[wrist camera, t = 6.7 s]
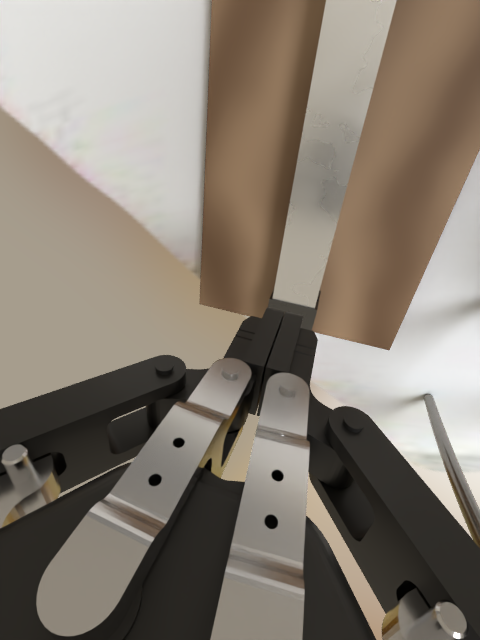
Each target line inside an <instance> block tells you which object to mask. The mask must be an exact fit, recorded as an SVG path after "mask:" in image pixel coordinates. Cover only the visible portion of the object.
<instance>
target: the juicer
mask: <svg viewBox="0 0 480 640" xmlns="http://www.w3.org/2000/svg"><path fill="white" fill-rule="evenodd" d="M424 401H425V405H426V409H427V412H428V416H429V419H430V423H431V426H432V430H433V433H434V436H435V439H436V442H437V446H438V449H439V452H440V455H441V458H442V461H443V463H444V466H445V469H446V472H447V475H448V477H449V480H450V483H451V486H452V488H453V491H454V494H455V496H456V499H457V502H458V504H459V507H460V509H461V512H462V514H463V517H464V519H465V522H466V524H467V526H468V529H469V531H470V533H471V536H472V538H473V541H474V542H475V543H476V544H477V545H478V547H479V548H480V509H479V507H478V505H477V503H476V501H475V498H474V496H473V494H472V492H471V490H470V488H469V485H468V483H467V481H466V479H465V476H464V474H463V472H462V469H461V467H460V465H459V463H458V460H457V458H456V455H455V453H454V451H453V448H452V446H451V443H450V441H449V438H448V436H447V433H446V431H445V428H444V426H443V423H442V420H441V418H440V415H439V412H438V409H437V407H436V404H435V401H434V398H433V396H432V395H430V394H427V395H425V396H424Z"/></svg>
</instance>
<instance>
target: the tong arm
mask: <svg viewBox="0 0 480 640" xmlns="http://www.w3.org/2000/svg"><path fill="white" fill-rule="evenodd" d="M396 1H397V0H326V3H325V9H324V15H323V20H322V26H321V31H320V37H319V42H318V48H317V54H316V59H315V65H314V70H313V76H312V81H311V87H310V93H309V98H308V104H307V109H306V115H305V120H304V126H303V131H302V137H301V143H300V148H299V154H298V159H297V165H296V170H295V176H294V182H293V187H292V193H291V198H290V204H289V209H288V215H287V221H286V226H285V232H284V237H283V243H282V248H281V254H280V260H279V265H278V271H277V276H276V282H275V287H274V291H273V292H272V294H271V296H270V299H269V304H268V307H269V308H273V309H277V310H281V311H285V313H286V312H290V313H294V314H298V315H302V316H303V320H302V325H301V328H303V329H307V330H311V331H312V328H313V324H314V320H315V317H316V313H317V309H318V304H319V302H318V301H317V298H318V294H319V290H320V286H321V283H322V279H323V275H324V271H325V268H326V264H327V260H328V256H329V253H330V249H331V245H332V241H333V238H334V234H335V230H336V226H337V223H338V219H339V215H340V211H341V208H342V204H343V200H344V196H345V192H346V189H347V185H348V181H349V177H350V174H351V170H352V166H353V162H354V159H355V155H356V151H357V147H358V144H359V140H360V136H361V132H362V129H363V125H364V121H365V117H366V114H367V110H368V106H369V102H370V99H371V95H372V91H373V87H374V83H375V80H376V76H377V72H378V68H379V65H380V61H381V57H382V53H383V50H384V46H385V42H386V38H387V35H388V31H389V27H390V23H391V20H392V16H393V12H394V8H395V5H396ZM285 313H284V315H285Z"/></svg>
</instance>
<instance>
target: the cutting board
mask: <svg viewBox="0 0 480 640" xmlns="http://www.w3.org/2000/svg"><path fill="white" fill-rule="evenodd" d="M325 3H326V0H212V10H211V35H210V60H209V84H208V109H207V134H206V159H205V183H204V208H203V233H202V258H201V282H200V304H202V305H206V306H210V307H214V308H218V309H222V310H226V311H230V312H234V313H238V314H243V315H247V316H254V317H258V318H262V317H263V315H264V312H265V310H266V308H267V307H268V304H269V299H270V296H271V294H272V292H273V290H274V287H275V282H276V276H277V271H278V265H279V260H280V254H281V248H282V243H283V237H284V232H285V226H286V221H287V215H288V209H289V204H290V198H291V193H292V187H293V182H294V176H295V170H296V165H297V159H298V154H299V148H300V143H301V137H302V131H303V126H304V120H305V115H306V109H307V104H308V98H309V93H310V87H311V81H312V76H313V70H314V65H315V59H316V54H317V48H318V42H319V37H320V31H321V26H322V20H323V15H324V9H325ZM479 149H480V0H397V1H396V5H395V8H394V12H393V16H392V20H391V23H390V27H389V31H388V35H387V38H386V42H385V46H384V50H383V53H382V57H381V61H380V65H379V68H378V72H377V76H376V80H375V83H374V87H373V91H372V95H371V99H370V102H369V106H368V110H367V114H366V117H365V121H364V125H363V129H362V132H361V136H360V140H359V144H358V147H357V151H356V155H355V159H354V162H353V166H352V170H351V174H350V177H349V181H348V185H347V189H346V192H345V196H344V200H343V204H342V208H341V211H340V215H339V219H338V223H337V226H336V230H335V234H334V238H333V241H332V245H331V249H330V253H329V256H328V260H327V264H326V268H325V271H324V275H323V279H322V283H321V286H320V291H321V293H320V298H319V304H318V309H317V313H316V317H315V320H314V324H313V328H312V331H314V332H316V333H320V334H325V335H329V336H333V337H337V338H341V339H345V340H349V341H353V342H357V343H361V344H366V345H370V346H374V347H378V348H382V349H386V350H390V348H391V345H392V343H393V341H394V339H395V337H396V334H397V332H398V330H399V328H400V325H401V323H402V321H403V319H404V316H405V314H406V312H407V310H408V308H409V305H410V303H411V301H412V299H413V296H414V294H415V292H416V290H417V287H418V285H419V283H420V281H421V279H422V276H423V274H424V272H425V270H426V267H427V265H428V263H429V261H430V259H431V256H432V254H433V252H434V250H435V247H436V245H437V243H438V241H439V238H440V236H441V234H442V232H443V230H444V227H445V225H446V223H447V221H448V218H449V216H450V214H451V212H452V210H453V207H454V205H455V203H456V201H457V198H458V196H459V194H460V192H461V189H462V187H463V185H464V183H465V181H466V178H467V176H468V174H469V172H470V169H471V167H472V165H473V163H474V161H475V158H476V156H477V154H478V152H479Z"/></svg>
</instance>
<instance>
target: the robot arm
mask: <svg viewBox="0 0 480 640" xmlns="http://www.w3.org/2000/svg"><path fill="white" fill-rule="evenodd" d="M284 313H285V311H281V310H277V309H273V308H269V307H267V308H266V310H265V312H264V315H263V317H262V318H258V317H254V316H251V317H249V318H247V319H246V320H244V321H243V323H242V325H241V326H240V328H239V331H238V332H237V334H236V336H235V337H234V339H233V341H232V343H231V345H230V347H229V349H228V350H227V352H226V354H225V356H224V358H223V359H219V360H217V361H216V362H214V363H213V364H212V366H211V367H210V368H209V369H202V370H194V369H186V366H185V363H184V362H183V361H182V360H181V359H179V358H177V357H175V356H171V355H161V356H157V357H154V358H151V359H148V360H145V361H142V362H139V363H136V364H133V365H130V366H127V367H124V368H121V369H118V370H115V371H112V372H109V373H106V374H103V375H100V376H97V377H94V378H92V379H88V380H85V381H82V382H80V383H76V384H74V385H71V386H68V387H65V388H62V389H59V390H56V391H53V392H50V393H47V394H44V395H41V396H38V397H35V398H32V399H29V400H26V401H23V402H20V403H17V404H14V405H12V406H8V407H6V408H2V409H0V640H376V638H375V636H374V634H373V632H372V630H371V628H370V626H369V625H368V622H367V620H366V618H365V616H364V614H363V612H362V610H361V608H360V606H359V604H358V602H357V600H356V598H355V596H354V594H353V592H352V590H351V588H350V586H349V584H348V582H347V580H346V577H345V575H344V573H343V572H342V569H341V567H340V565H339V563H338V561H337V559H336V557H335V555H334V553H333V551H332V549H331V547H330V545H329V543H328V542H327V540H326V539H325V537H324V536H323V534H322V532H321V531H320V530H319V529H318V527H317V526H316V525H315V524H314V523H313V522H312V521H311V520H310V519H309V518H308V517H307V516H306V505H307V486H308V472H309V477H310V480H311V483H312V485H313V486H314V488H315V490H316V491H317V493H318V495H319V497H320V499H321V500H322V502H323V504H324V506H325V507H326V509H327V511H328V513H329V514H330V516H331V518H332V520H333V521H334V523H335V525H336V527H337V529H338V530H339V532H340V533H341V535H342V537H343V539H344V541H345V543H346V544H347V546H348V548H349V549H350V551H351V553H352V555H353V557H354V558H355V560H356V562H357V564H358V565H359V567H360V569H361V571H362V572H363V574H364V576H365V578H366V580H367V581H368V583H369V585H370V587H371V588H372V590H373V592H374V594H375V595H376V597H377V599H378V601H379V602H380V604H381V606H382V608H383V609H384V611H385V613H386V615H385V617H384V619H383V623H382V639H383V640H480V548H479V547H478V545H477V544H476V543H475V542H474V541H473V540H472V538H471V537H470V536H469V535H468V534H467V532H466V531H465V530H464V529H463V528H462V526H461V525H460V524H459V523H458V522H457V520H456V519H455V518H454V517H453V516H452V515H451V513H450V512H449V511H448V510H447V509H446V508H445V506H444V505H443V504H442V503H441V501H440V500H439V499H438V498H437V497H436V495H435V494H434V493H433V492H432V491H431V490H430V488H429V487H428V486H427V485H426V484H425V483H424V481H423V480H422V479H421V478H420V477H419V475H418V474H417V473H416V472H415V470H414V469H413V468H412V467H411V466H410V464H409V463H408V462H407V461H406V460H405V459H404V457H403V456H402V455H401V454H400V453H399V451H398V450H397V449H396V448H395V447H394V445H393V444H392V443H391V442H390V441H389V439H388V438H387V437H386V436H385V435H384V433H383V432H382V431H381V430H380V429H379V428H378V426H377V425H376V424H375V423H374V422H373V420H372V419H371V418H370V417H369V416H368V415H367V414H365V413H364V412H362V411H360V410H358V409H356V408H353V407H348V406H342V407H338V408H335V409H334V410H332V409H330V408H328V407H327V406H325V405H323V404H322V403H320V402H319V401H318V400H317V399H316V398H315V397H314V396H313V394H312V393H311V390H310V379H311V374H312V368H313V363H314V357H315V352H316V346H317V341H318V340H317V337H316V335H315V333H314V331H311V330H307V329H303V328H301V325H302V320H303V316H302V315H298V314H294V313H290V312H286V313H285V315H284ZM258 405H259V407H258ZM144 406H146V407H145V408H143V409H140V410H138V411H136V412H133V413H131V414H128V415H126V416H123V417H121V418H119V419H116V420H114V421H112V420H113V419H115V418H117V417H119V416H122V415H124V414H127V413H129V412H131V411H134V410H136V409H139V408H141V407H144ZM257 408H258V413H257V416H260V417H259V422H258V426H257V430H256V434H255V439H254V443H253V448H252V452H251V457H250V462H249V466H248V471H247V475H246V480H245V482H238V481H227V480H223V479H221V476H222V474H223V471H224V469H225V467H226V465H227V463H228V461H229V458H230V456H231V454H232V452H233V450H234V448H235V446H236V443H237V441H238V439H239V437H240V435H241V433H242V430H243V425H244V424H245V422H246V419H247V416H248V413H250V414H253V415H255V414H256V411H257ZM134 457H136V458H135V459H134V460H133V462H131V463H127V464H125V465H122V466H119V467H117V468H115V469H113V470H111V471H109V472H107V473H106V474H104V475H102V476H100V477H98V478H96V479H94V480H92V481H90V482H88V483H87V484H85V485H83V486H81V487H79V488H77V489H75V490H73V491H71V492H69V493H67V494H65V495H63V496H62V497H60V498H58V496H59V494H60V493H62V492H64V491H66V490H68V489H70V488H72V487H74V486H76V485H78V484H80V483H82V482H84V481H86V480H88V479H90V478H93V477H95V476H97V475H99V474H101V473H103V472H105V471H107V470H109V469H111V468H113V467H115V466H117V465H120V464H121V463H124V462H126V461H128V460H130V459H132V458H134ZM57 498H58V499H57Z"/></svg>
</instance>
